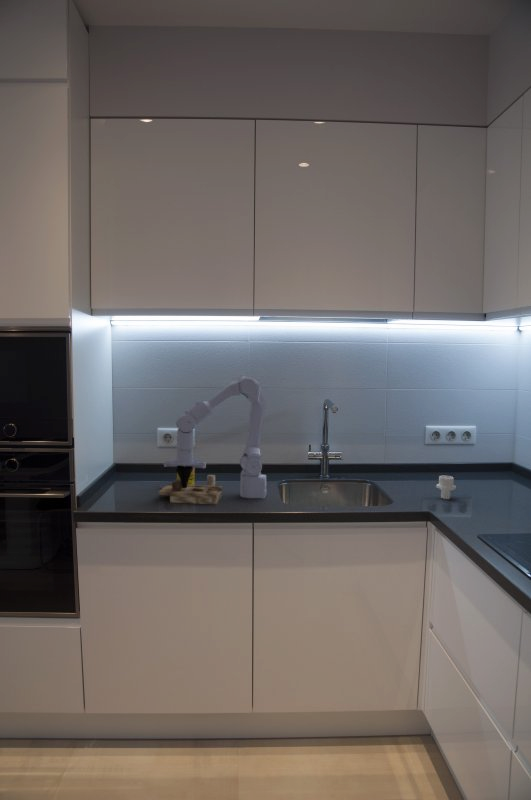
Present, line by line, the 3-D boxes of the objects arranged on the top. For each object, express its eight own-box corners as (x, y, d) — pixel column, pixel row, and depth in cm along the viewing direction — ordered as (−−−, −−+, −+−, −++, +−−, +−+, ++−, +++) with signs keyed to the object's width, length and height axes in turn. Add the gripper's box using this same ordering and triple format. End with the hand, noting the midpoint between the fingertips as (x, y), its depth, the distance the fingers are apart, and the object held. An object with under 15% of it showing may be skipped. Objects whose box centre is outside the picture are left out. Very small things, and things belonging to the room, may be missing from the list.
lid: (209, 490, 196) (209, 479, 196) (204, 496, 187) (204, 485, 187) (165, 488, 198) (166, 477, 197) (158, 494, 189) (158, 483, 188)
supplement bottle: (186, 492, 205) (187, 458, 204) (173, 489, 209) (173, 456, 208) (198, 488, 211) (198, 455, 210) (184, 486, 214) (185, 453, 213)
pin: (215, 493, 204) (215, 475, 204) (214, 495, 201) (214, 476, 201) (207, 493, 205) (208, 474, 204) (206, 495, 202) (206, 476, 201)
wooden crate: (221, 498, 197) (222, 486, 197) (216, 507, 186) (216, 494, 186) (178, 496, 198) (178, 484, 198) (170, 504, 188) (170, 492, 187)
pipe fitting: (434, 495, 208) (435, 474, 208) (453, 496, 207) (454, 475, 207) (436, 499, 202) (437, 478, 202) (456, 500, 201) (458, 479, 200)
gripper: (207, 448, 194) (207, 485, 196) (167, 446, 196) (167, 483, 197) (203, 451, 187) (203, 490, 189) (162, 449, 189) (162, 488, 190)
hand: (184, 487), depth 192 cm, fingers closed
